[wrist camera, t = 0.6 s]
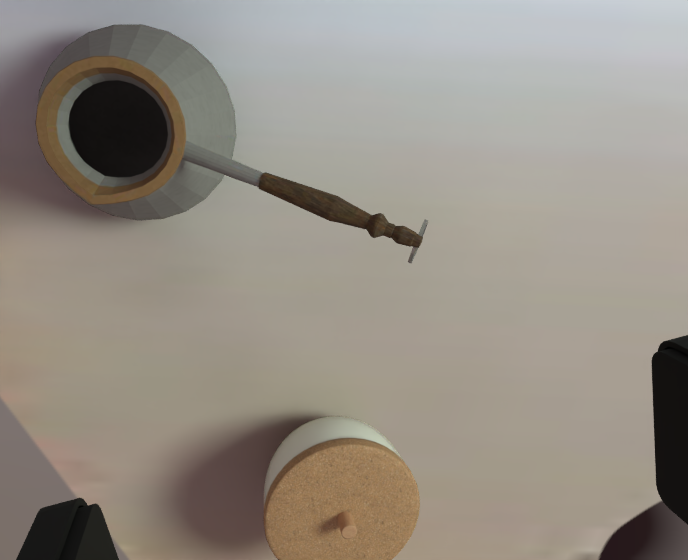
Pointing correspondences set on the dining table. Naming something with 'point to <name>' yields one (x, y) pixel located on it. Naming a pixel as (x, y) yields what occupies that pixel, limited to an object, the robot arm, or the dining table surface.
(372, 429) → the lidded jar
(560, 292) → the dining table surface
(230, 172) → the coffee pot
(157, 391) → the dining table surface
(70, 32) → the dining table surface
